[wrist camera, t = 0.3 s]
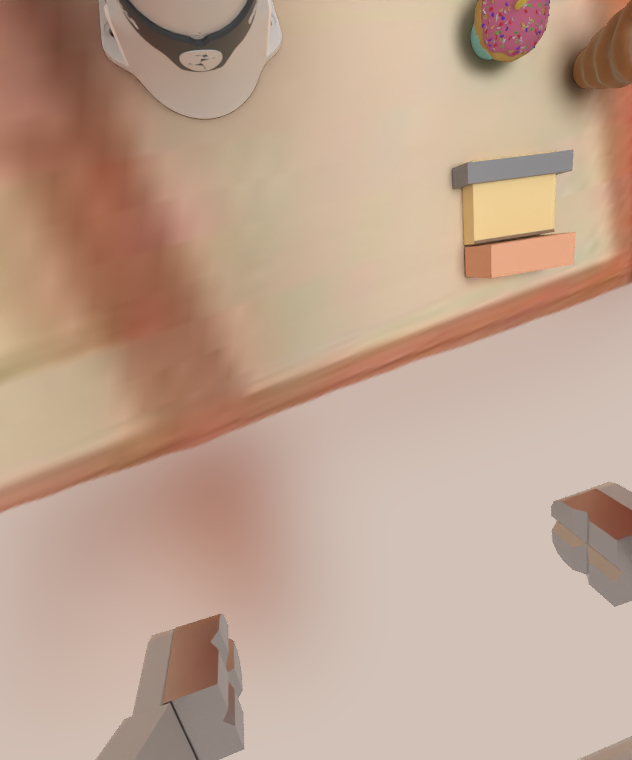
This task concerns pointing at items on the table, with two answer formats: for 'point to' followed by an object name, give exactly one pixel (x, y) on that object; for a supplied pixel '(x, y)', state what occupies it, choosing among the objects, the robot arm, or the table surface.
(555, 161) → the yellow slab with bar
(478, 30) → the cupcake
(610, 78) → the cat ice cream
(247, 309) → the table surface
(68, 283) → the table surface
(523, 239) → the block
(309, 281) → the table surface
